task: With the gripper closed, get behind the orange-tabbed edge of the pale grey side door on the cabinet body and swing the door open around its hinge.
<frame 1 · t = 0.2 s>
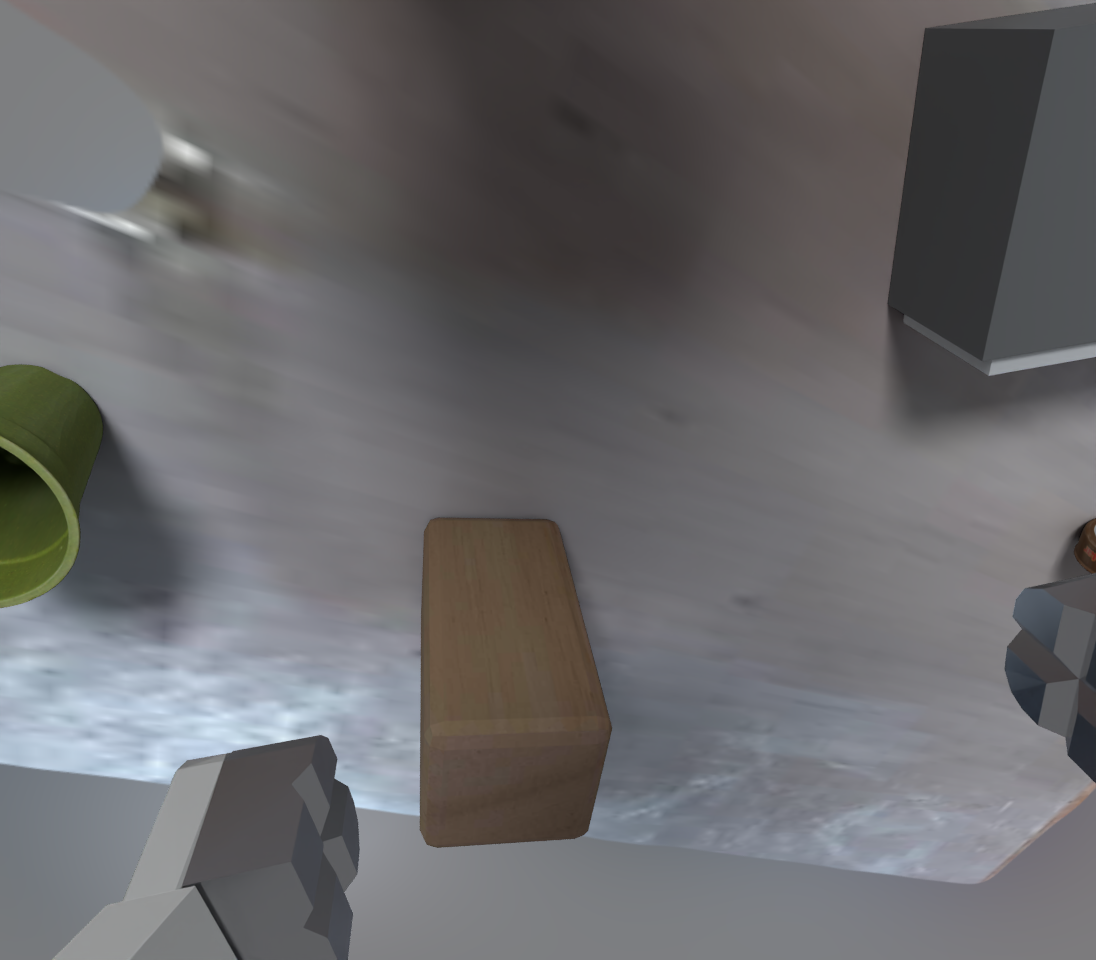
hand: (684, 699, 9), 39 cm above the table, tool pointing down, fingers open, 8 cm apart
wooden block: (488, 565, 57), on the table
cabinet body: (1027, 159, 46), on the table
door: (1081, 319, 46), point 5 cm above the table, hinge at 0.0°
plant pot: (44, 415, 46), on the table
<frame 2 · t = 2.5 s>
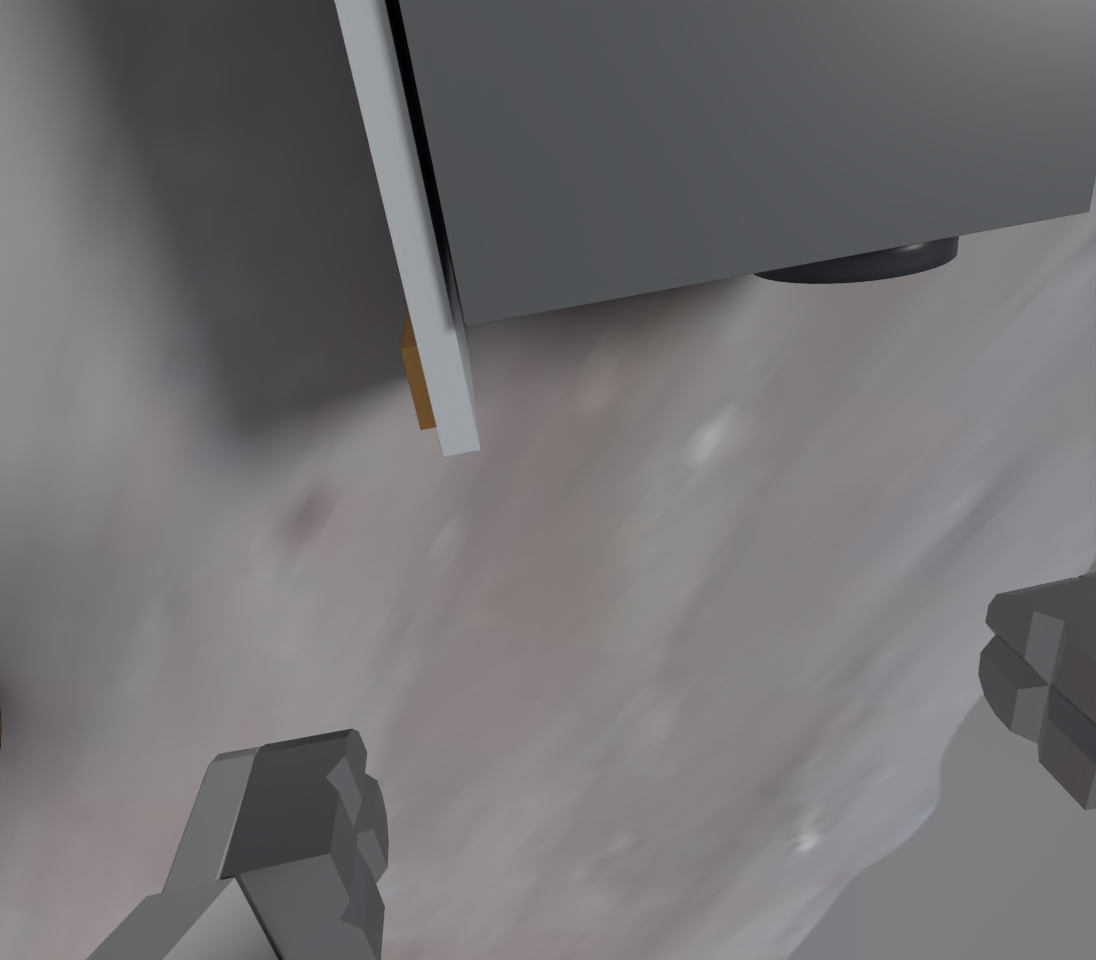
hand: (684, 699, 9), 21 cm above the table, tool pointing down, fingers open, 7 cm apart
door: (376, 77, 20), point 5 cm above the table, hinge at 0.0°
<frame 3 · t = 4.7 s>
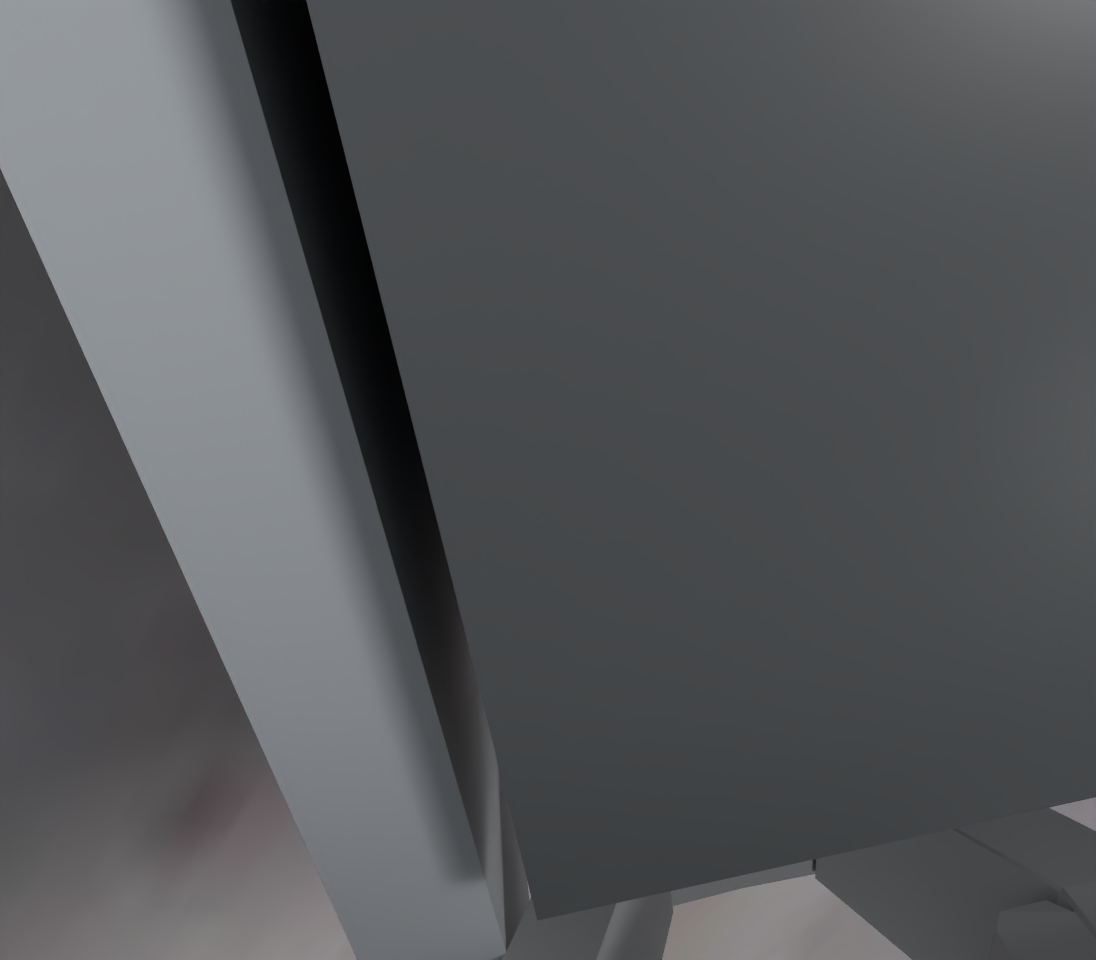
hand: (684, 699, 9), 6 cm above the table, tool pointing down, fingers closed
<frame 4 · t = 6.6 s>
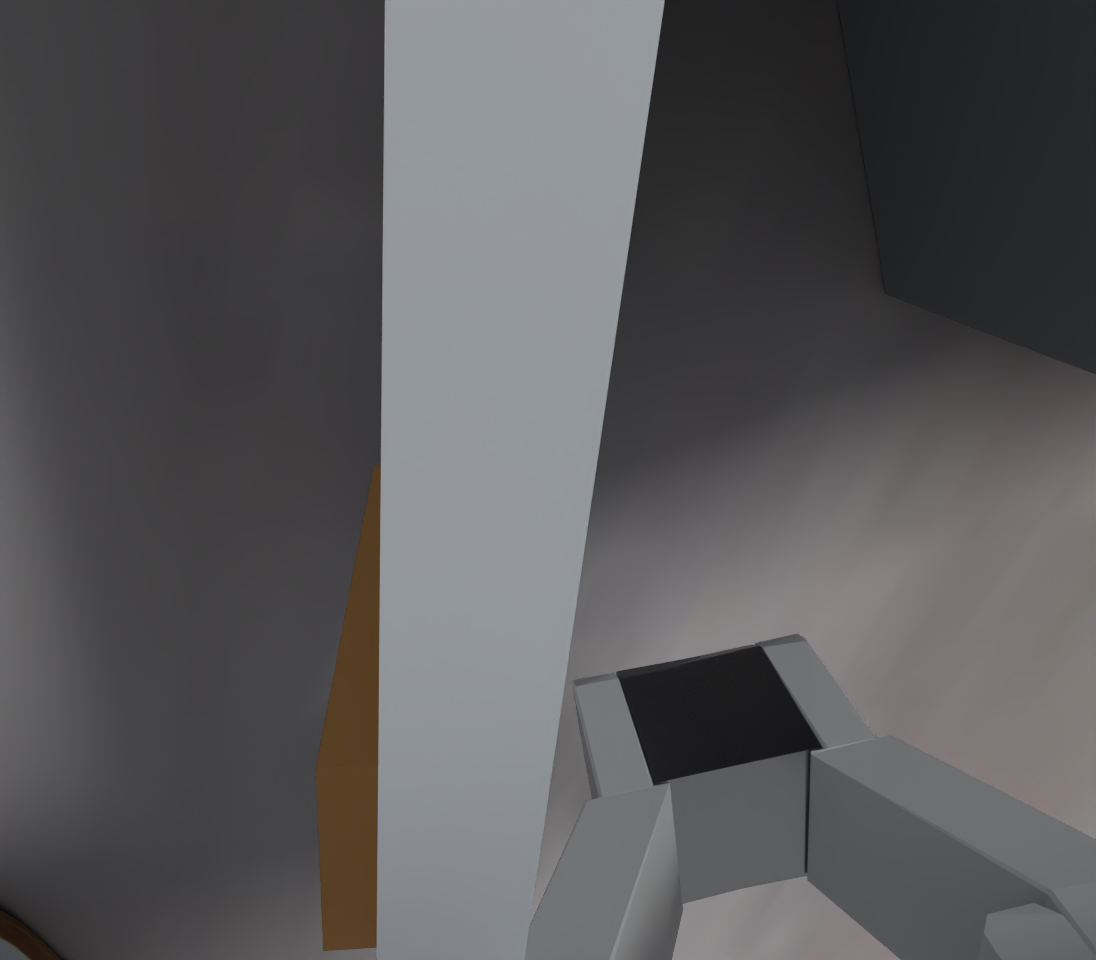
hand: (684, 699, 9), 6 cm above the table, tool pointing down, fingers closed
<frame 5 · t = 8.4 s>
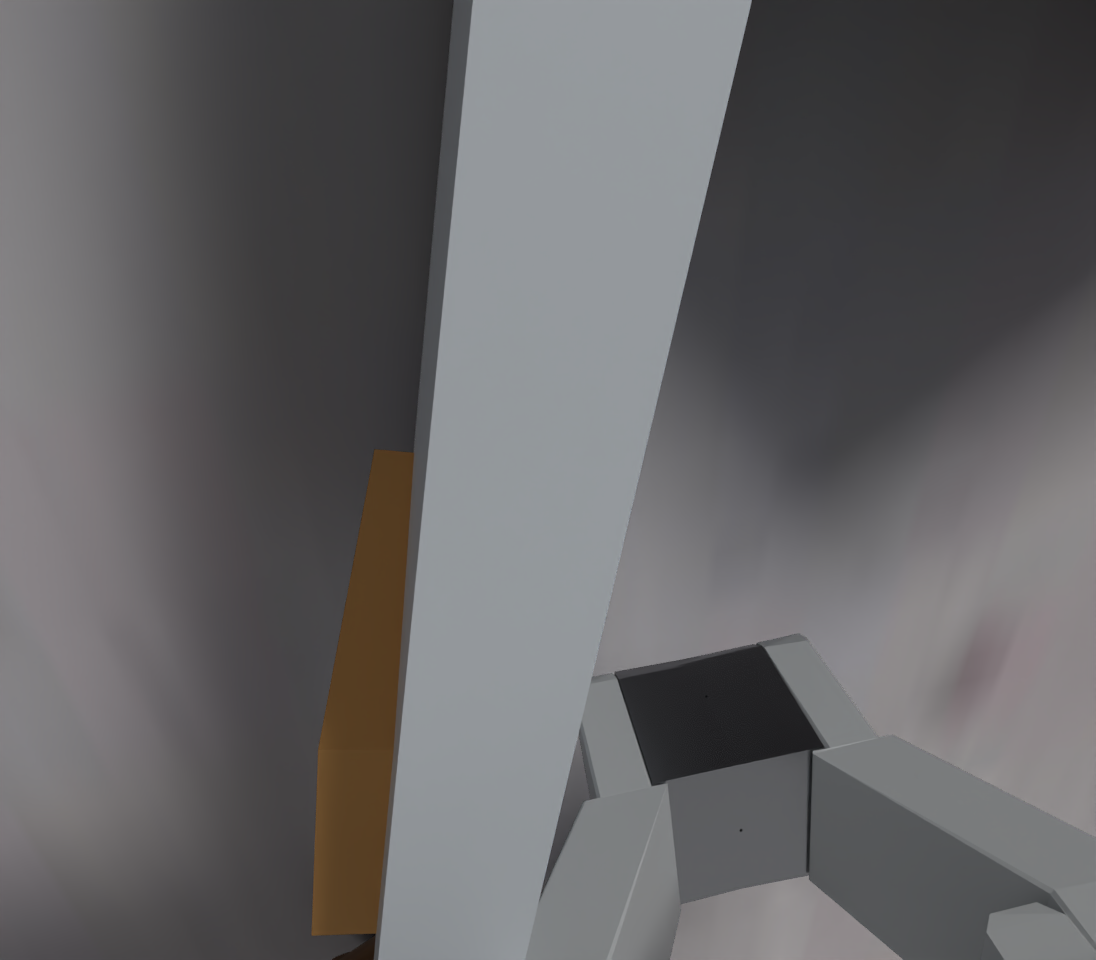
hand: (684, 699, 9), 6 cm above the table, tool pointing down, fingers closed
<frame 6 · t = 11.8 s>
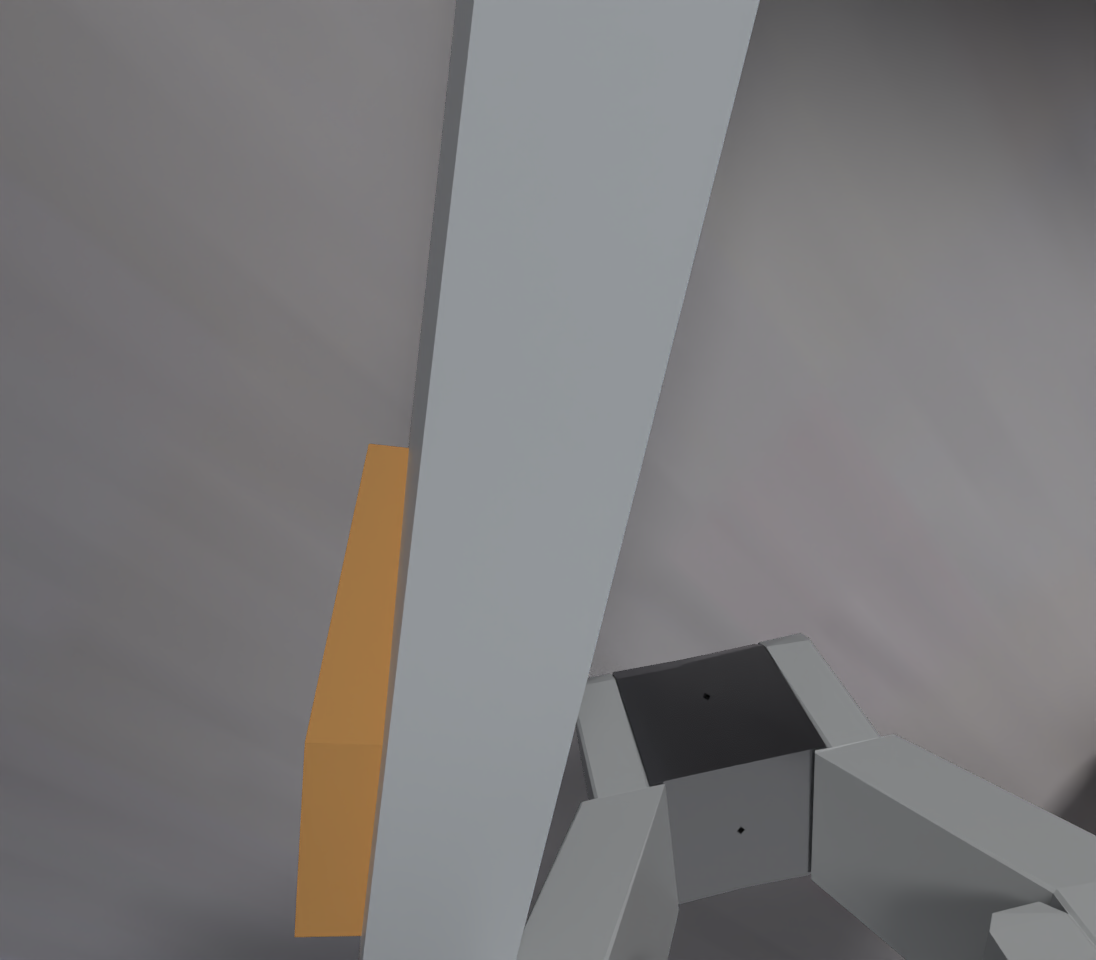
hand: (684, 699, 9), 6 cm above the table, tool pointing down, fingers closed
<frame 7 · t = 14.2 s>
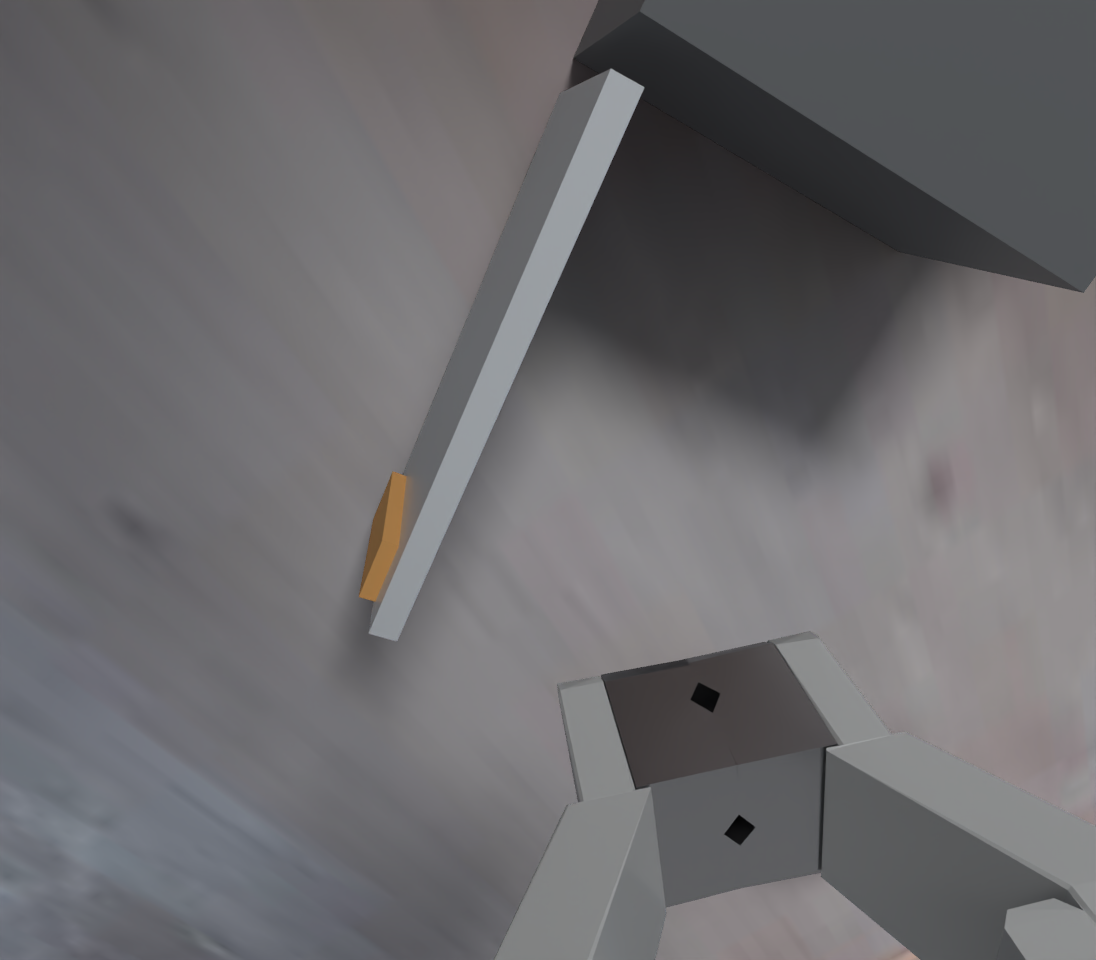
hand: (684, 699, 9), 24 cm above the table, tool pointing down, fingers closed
door: (473, 354, 26), point 5 cm above the table, hinge at 88.4°
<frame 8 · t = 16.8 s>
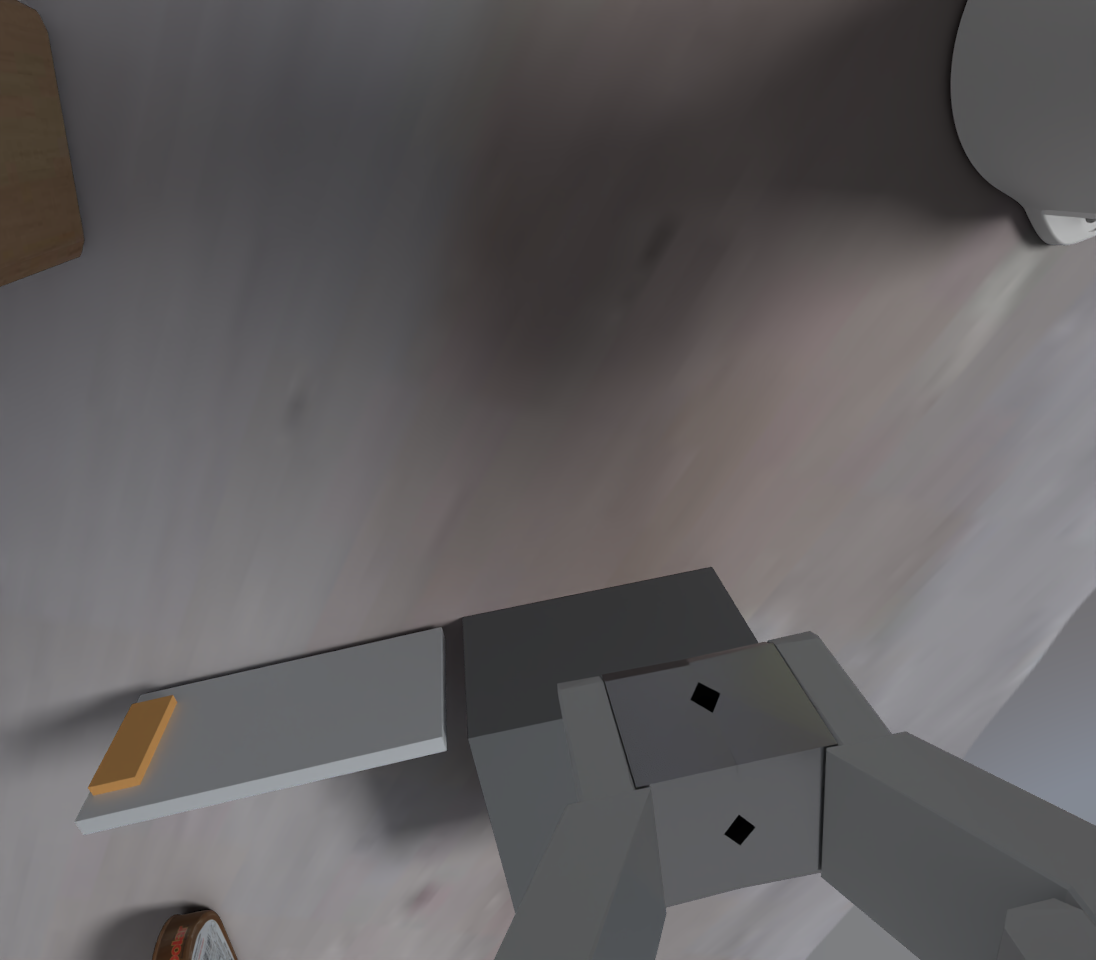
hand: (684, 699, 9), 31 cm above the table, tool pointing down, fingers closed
tin: (221, 946, 56), on the table
cabinet body: (602, 688, 49), on the table
door: (279, 716, 41), point 5 cm above the table, hinge at 88.4°
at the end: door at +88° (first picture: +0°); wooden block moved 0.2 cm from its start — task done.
